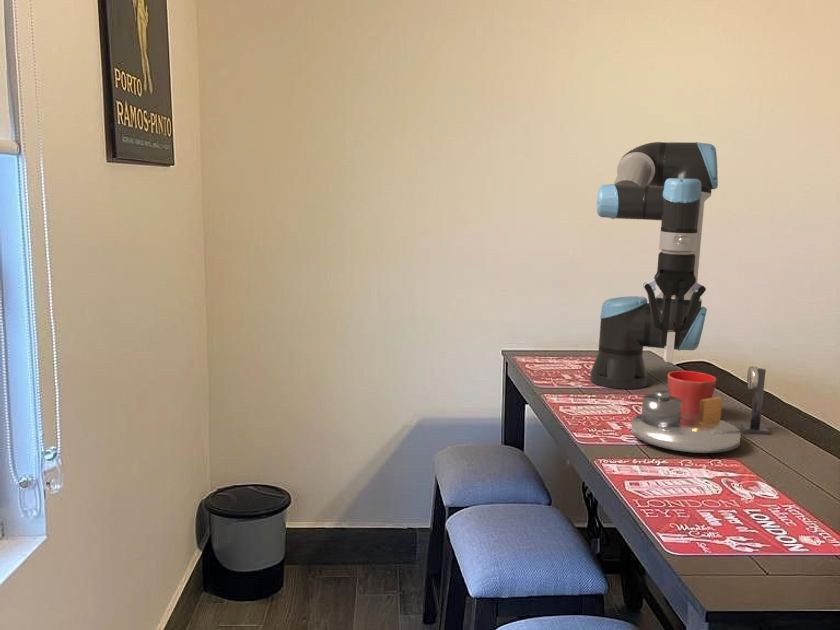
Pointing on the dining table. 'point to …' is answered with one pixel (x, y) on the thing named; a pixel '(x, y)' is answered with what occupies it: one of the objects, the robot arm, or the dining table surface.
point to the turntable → (692, 431)
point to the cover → (661, 409)
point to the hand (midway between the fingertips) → (668, 360)
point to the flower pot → (691, 389)
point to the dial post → (756, 401)
